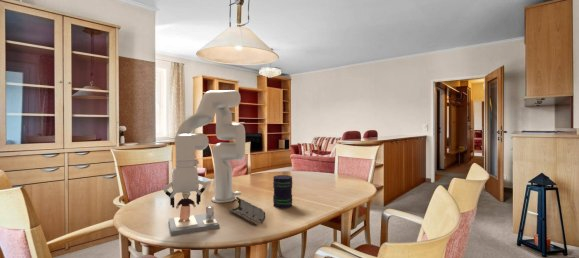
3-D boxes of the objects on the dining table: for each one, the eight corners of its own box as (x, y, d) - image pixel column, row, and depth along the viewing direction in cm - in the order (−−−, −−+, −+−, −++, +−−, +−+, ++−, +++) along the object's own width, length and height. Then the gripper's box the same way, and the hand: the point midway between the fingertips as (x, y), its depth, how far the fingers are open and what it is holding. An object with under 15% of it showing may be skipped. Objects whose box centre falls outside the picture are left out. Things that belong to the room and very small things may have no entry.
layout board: (211, 216, 128) (211, 212, 128) (219, 227, 114) (219, 223, 114) (168, 222, 120) (168, 217, 120) (171, 235, 106) (171, 230, 106)
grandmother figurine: (176, 223, 113) (176, 191, 113) (175, 220, 117) (176, 189, 117) (196, 220, 117) (196, 190, 117) (194, 218, 120) (195, 188, 120)
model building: (234, 215, 138) (262, 231, 118) (225, 206, 135) (252, 222, 115) (243, 202, 141) (272, 216, 121) (235, 194, 138) (263, 207, 118)
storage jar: (277, 209, 138) (277, 179, 138) (270, 204, 147) (270, 175, 147) (295, 207, 142) (295, 177, 142) (287, 202, 151) (287, 174, 151)
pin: (212, 219, 118) (212, 205, 118) (214, 222, 115) (214, 207, 115) (205, 220, 117) (205, 206, 117) (206, 223, 114) (206, 208, 114)
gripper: (205, 161, 123) (205, 200, 124) (162, 164, 116) (162, 205, 116) (208, 164, 117) (208, 205, 117) (162, 167, 109) (163, 210, 109)
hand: (185, 205), depth 117 cm, fingers open, 9 cm apart
